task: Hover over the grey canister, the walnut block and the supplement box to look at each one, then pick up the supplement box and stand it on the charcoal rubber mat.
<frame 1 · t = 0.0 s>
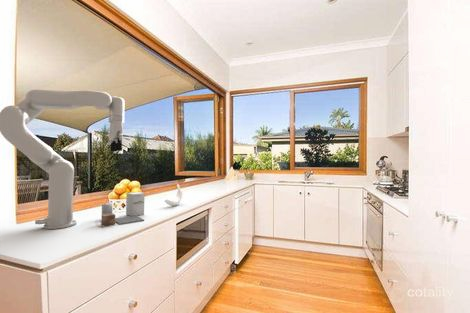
hand: (116, 150, 128), 37 cm above the counter, tool pointing down, fingers open, 9 cm apart
supplement box: (135, 215, 135), on the counter
walnut block: (108, 224, 114), on the counter
grey canister: (106, 219, 125), on the counter
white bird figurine: (174, 205, 164), on the counter
charcoal mat: (128, 220, 123), on the counter
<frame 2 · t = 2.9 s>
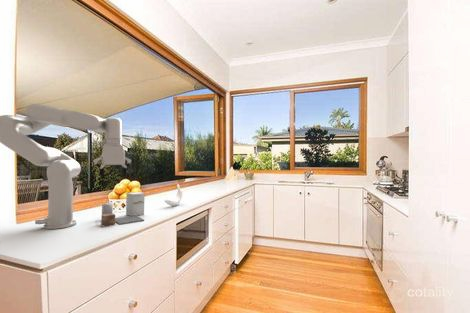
hand: (113, 176, 117), 23 cm above the counter, tool pointing down, fingers open, 9 cm apart
nothing on the counter moved.
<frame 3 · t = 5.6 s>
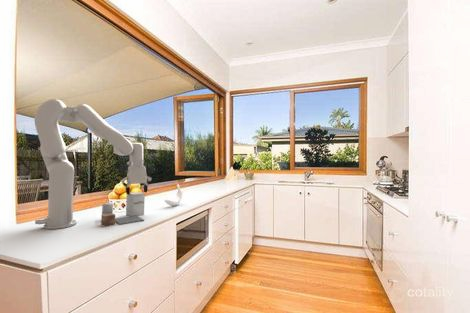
hand: (137, 193, 136), 12 cm above the counter, tool pointing down, fingers open, 9 cm apart
supplement box: (135, 215, 135), on the counter, touching gripper
everything else where it was.
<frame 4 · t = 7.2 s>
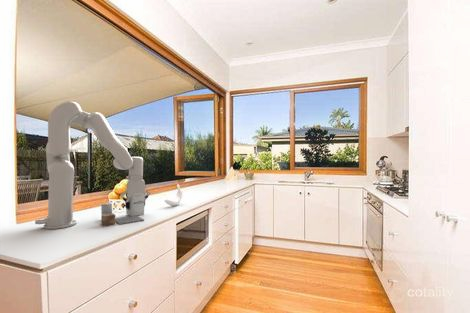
hand: (135, 207, 136), 4 cm above the counter, tool pointing down, fingers closed on supplement box, 8 cm apart
supplement box: (135, 214, 136), on the counter, touching gripper
everything else where it was.
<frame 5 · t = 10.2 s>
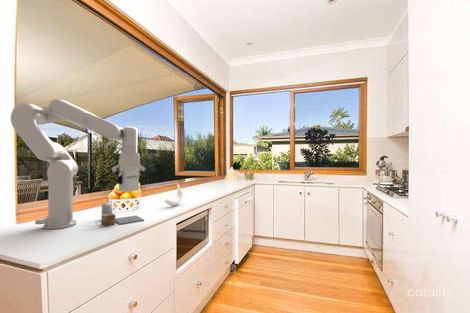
hand: (128, 183, 123), 19 cm above the counter, tool pointing down, fingers closed on supplement box, 8 cm apart
supplement box: (128, 191, 123), point 15 cm above the counter, touching gripper
everything else where it was.
when the fingers open (6 cm above the counter, at t = 13.6 s): supplement box drops 1 cm, resting on charcoal mat.
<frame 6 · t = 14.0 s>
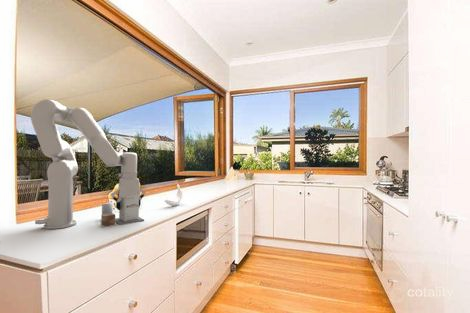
hand: (128, 208, 123), 6 cm above the counter, tool pointing down, fingers open, 9 cm apart
supplement box: (128, 219, 123), resting on charcoal mat
everything else where it was.
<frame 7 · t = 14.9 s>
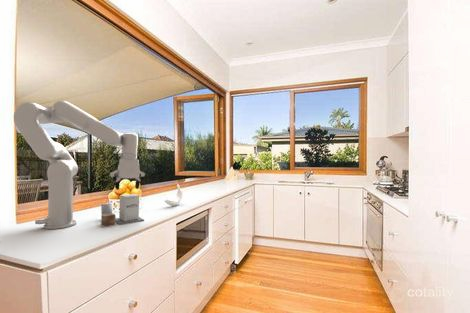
hand: (127, 189, 123), 17 cm above the counter, tool pointing down, fingers open, 9 cm apart
nothing on the counter moved.
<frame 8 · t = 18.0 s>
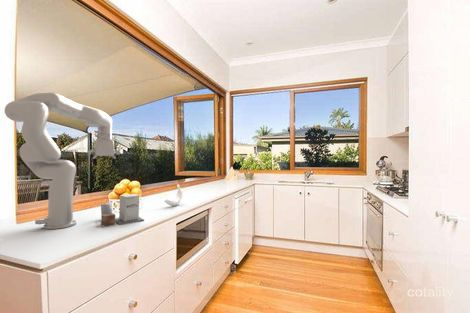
hand: (104, 165, 140), 28 cm above the counter, tool pointing down, fingers open, 9 cm apart
nothing on the counter moved.
at the end: supplement box inside the target area on the charcoal mat (0.3 cm from its centre), point 0.4 cm above the charcoal mat's base; supplement box tilted 0°; the gripper is holding nothing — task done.
